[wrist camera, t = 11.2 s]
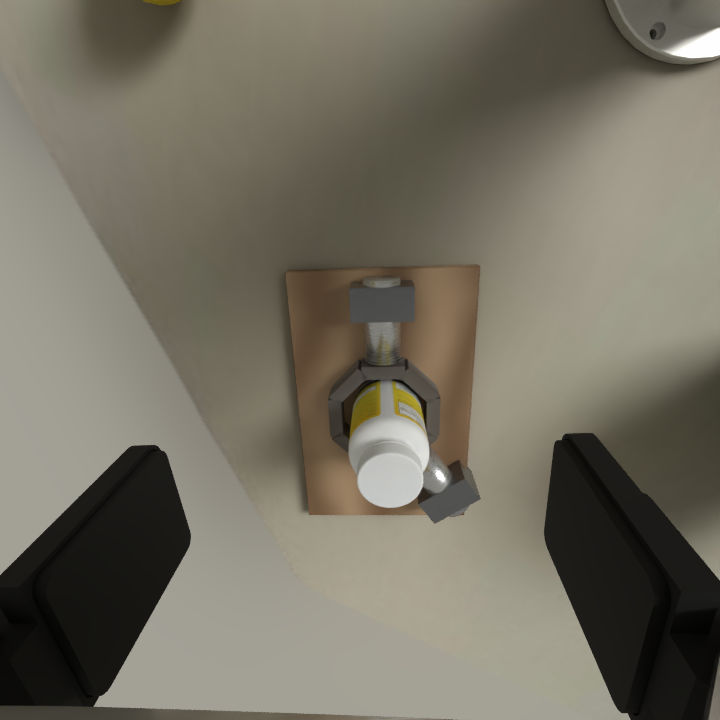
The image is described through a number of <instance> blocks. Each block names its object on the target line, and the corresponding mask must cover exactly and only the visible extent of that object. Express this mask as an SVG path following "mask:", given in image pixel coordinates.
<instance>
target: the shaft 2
mask: <svg viewBox="0 0 720 720" xmlns="http://www.w3.org/2000/svg"><path fill="white" fill-rule="evenodd" d="M417 497H418V505H419V506H420V507H421V508H422V509H423V510H424V512H425V513H426V514H427V515H428V516H429V518H430V519H431V520H432V521H433V522H434V523H437V522H439V521H441V520H443V519H444V518H446V517H448V516H450V517H455V516H458V515H460V514H462V513H463V512H465V511H466V509H467V508H468V507H469V505H470V504H472V503H474V502H476V501H478V500H480V499H481V498H480V495H479V492H478V489H477V486H476V483H475V481H474V478H473V475H472V472H471V470H470V469H469V468H468V467H467V469H466V468H465V467H464V465H463V464H462V463H461V462H460V460H457V461H455V462H454V463H452V464H450V465H449V466H446V465H445V463H444V462H443V461H442V460H441V458H440V457H439V456H438V455H437V453H436V452H435V451H434V450H433V448H432V447H431V446H429V461H428V464H427V467H426V468H425V470H424V472H423V487H422V489H421V491H420V493H419V495H418V496H417Z"/></svg>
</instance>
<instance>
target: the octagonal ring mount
mask: <svg viewBox="0 0 720 720" xmlns="http://www.w3.org/2000/svg"><path fill="white" fill-rule="evenodd" d="M375 275H393V276H399V277H400V280H412V281H413V283H414V286H415V322H401V360H400V361H399V362H398V363H396V364H393V365H386V366H379V365H372V364H369V363H368V362H366V356H365V326H364V323H351V322H350V300H349V287H350V284H351V282H353V281H363V278H365V277H368V276H375ZM285 276H286V286H287V296H288V306H289V316H290V326H291V336H292V346H293V356H294V367H295V377H296V387H297V397H298V407H299V417H300V427H301V437H302V447H303V457H304V467H305V478H306V488H307V498H308V508H309V515H427V514H426V513H425V512H424V510H423V509H422V508H421V507H420V506H419V505H418V497H416V498H415V499H414V500H413V501H411V502H410V503H408V504H406V505H404V506H400V507H395V508H385V507H380V506H377V505H374V504H372V503H371V502H369V501H368V500H366V499H365V498H364V497H363V495H362V494H361V493H360V491H359V489H358V485H357V474H356V473H355V471H354V470H353V468H352V466H351V463H350V460H349V439H350V429H351V420H352V410H353V403H354V399H355V396H356V394H357V392H358V390H359V389H360V388H361V387H362V386H363V385H364V384H365V383H366V382H368V381H370V380H389V379H402V380H403V381H404V382H405V383H406V384H407V385H409V386H410V387H411V388H412V389H413V390H414V391H415V392H416V393H417V395H418V398H419V401H420V405H421V409H422V414H423V419H424V423H425V428H426V433H427V438H428V442H429V446H431V447H432V448H433V450H434V451H435V452H436V453H437V455H438V456H439V457H440V458H441V460H442V461H443V462H444V463H445V465H446V466H449V465H450V464H452V463H454V462H455V461H457V460H460V462H461V463H462V464H463V465H464V467H465V468H466V469H467V460H468V445H469V429H470V414H471V399H472V384H473V368H474V353H475V338H476V323H477V307H478V292H479V277H480V266H478V265H447V266H413V267H380V268H347V269H314V270H288V271H286V272H285ZM460 515H464V512H463V513H462V514H460Z"/></svg>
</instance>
